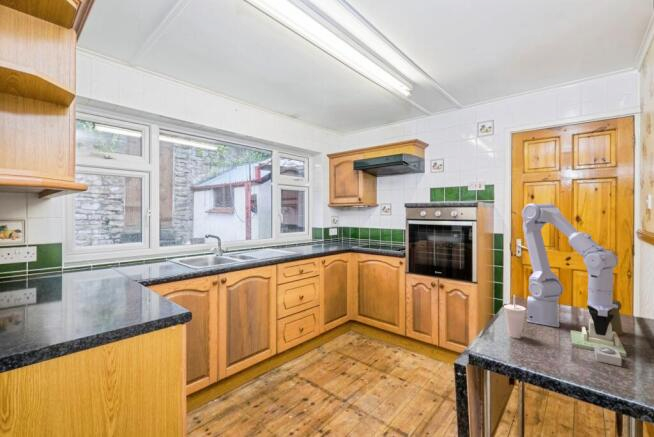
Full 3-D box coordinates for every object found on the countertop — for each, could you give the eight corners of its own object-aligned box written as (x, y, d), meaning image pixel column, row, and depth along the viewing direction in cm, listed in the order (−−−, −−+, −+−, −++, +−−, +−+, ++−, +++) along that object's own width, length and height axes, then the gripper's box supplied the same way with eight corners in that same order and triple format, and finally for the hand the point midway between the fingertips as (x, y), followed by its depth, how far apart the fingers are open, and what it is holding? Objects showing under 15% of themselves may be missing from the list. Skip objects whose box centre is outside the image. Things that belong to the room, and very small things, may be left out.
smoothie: (501, 336, 102) (501, 294, 101) (506, 330, 107) (506, 290, 106) (523, 341, 98) (524, 298, 97) (527, 335, 102) (528, 293, 102)
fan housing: (596, 361, 85) (596, 351, 85) (594, 352, 90) (594, 343, 90) (621, 366, 82) (621, 356, 82) (617, 357, 87) (617, 347, 87)
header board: (572, 346, 94) (572, 335, 94) (570, 332, 104) (570, 323, 103) (626, 357, 87) (626, 345, 87) (619, 341, 96) (619, 331, 96)
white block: (589, 338, 96) (590, 321, 96) (588, 333, 99) (588, 317, 99) (611, 342, 93) (611, 325, 93) (609, 337, 96) (609, 320, 96)
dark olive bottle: (616, 328, 106) (617, 297, 106) (627, 336, 100) (627, 302, 100) (595, 327, 108) (595, 296, 108) (604, 333, 102) (604, 301, 102)
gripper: (621, 297, 87) (621, 343, 88) (613, 285, 99) (613, 327, 99) (589, 293, 92) (588, 337, 92) (585, 283, 103) (585, 322, 104)
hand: (599, 332), depth 96 cm, fingers closed on white block, 4 cm apart
